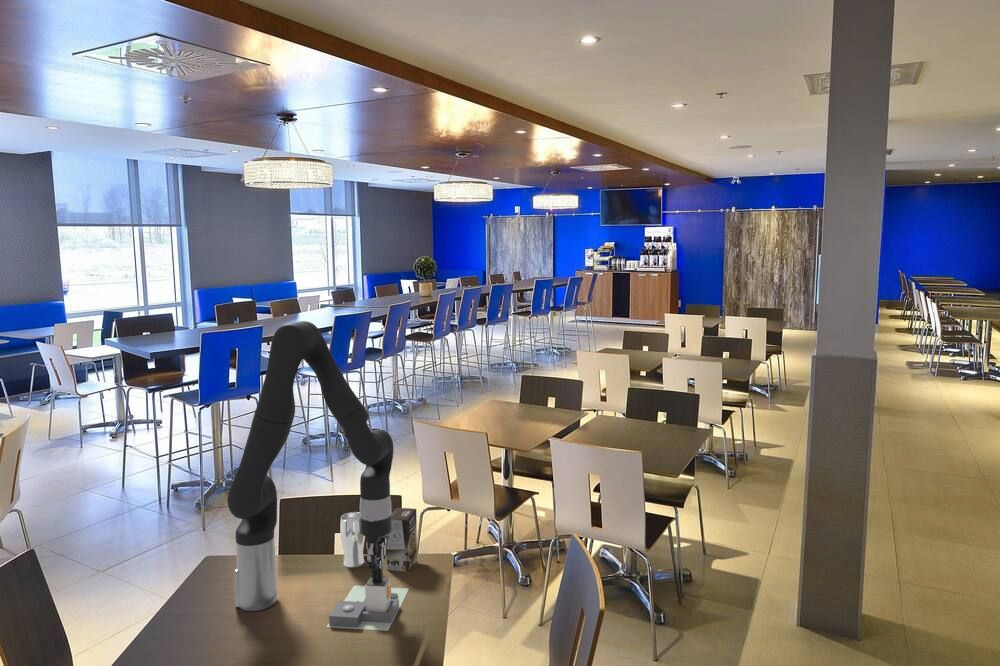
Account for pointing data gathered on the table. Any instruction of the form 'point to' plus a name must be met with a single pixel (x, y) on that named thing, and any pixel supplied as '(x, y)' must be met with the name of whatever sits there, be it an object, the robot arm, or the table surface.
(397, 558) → the coffee box
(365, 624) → the board
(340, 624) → the grey button block
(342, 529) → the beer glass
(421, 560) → the table surface
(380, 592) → the plug
